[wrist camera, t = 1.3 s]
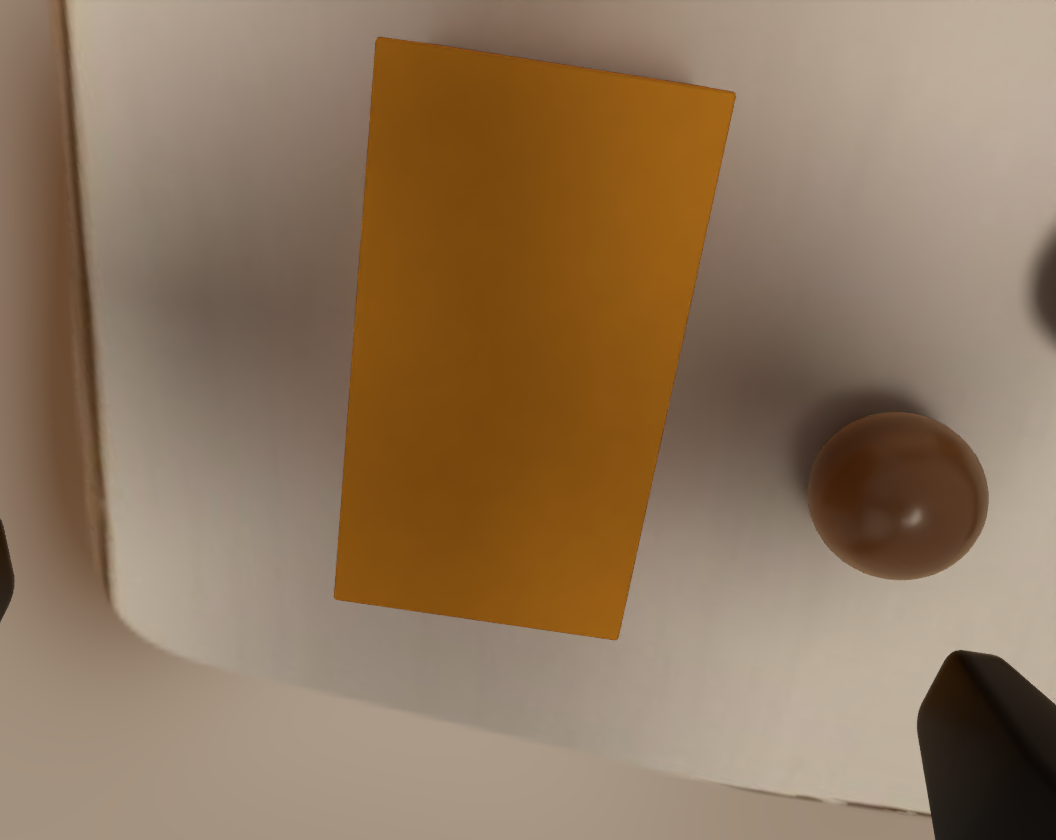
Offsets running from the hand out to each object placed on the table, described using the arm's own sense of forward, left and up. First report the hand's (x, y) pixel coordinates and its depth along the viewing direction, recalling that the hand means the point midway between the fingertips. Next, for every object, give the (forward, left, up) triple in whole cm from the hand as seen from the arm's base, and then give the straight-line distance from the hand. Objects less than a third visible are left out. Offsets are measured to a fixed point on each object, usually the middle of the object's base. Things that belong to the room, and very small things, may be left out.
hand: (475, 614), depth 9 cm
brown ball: (-3, -8, -11) cm, 14 cm away
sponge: (0, 0, -12) cm, 12 cm away
